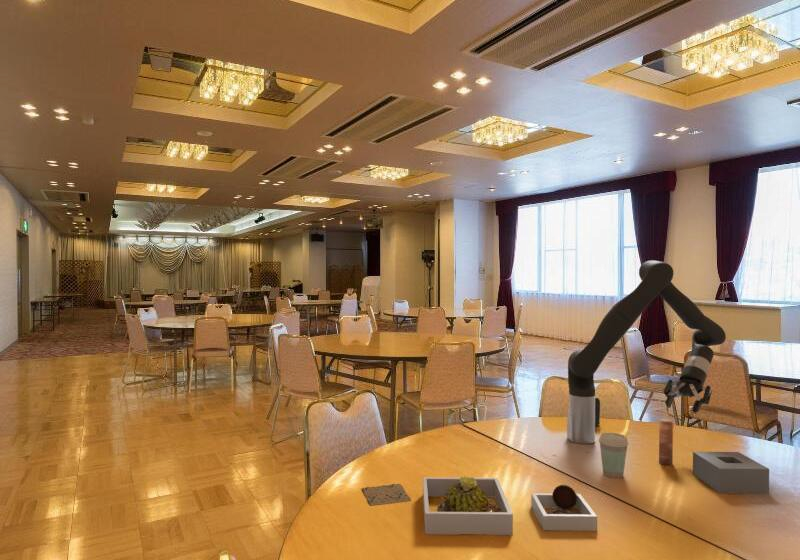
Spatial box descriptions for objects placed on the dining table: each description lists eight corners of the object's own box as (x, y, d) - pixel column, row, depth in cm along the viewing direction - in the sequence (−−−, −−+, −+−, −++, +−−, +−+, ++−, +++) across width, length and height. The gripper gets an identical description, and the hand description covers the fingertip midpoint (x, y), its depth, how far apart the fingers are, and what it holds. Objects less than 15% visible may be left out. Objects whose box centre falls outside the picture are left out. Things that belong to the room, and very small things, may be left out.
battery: (594, 422, 218) (594, 395, 218) (600, 425, 215) (600, 397, 215) (580, 424, 216) (580, 396, 216) (585, 426, 213) (585, 398, 213)
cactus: (480, 538, 125) (480, 497, 125) (424, 519, 134) (424, 481, 134) (511, 511, 139) (511, 474, 138) (458, 495, 148) (458, 461, 148)
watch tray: (543, 530, 128) (543, 516, 128) (531, 506, 141) (531, 493, 141) (597, 530, 128) (597, 516, 128) (579, 506, 141) (580, 493, 141)
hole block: (719, 492, 149) (719, 468, 149) (692, 473, 163) (692, 451, 163) (768, 493, 149) (769, 468, 149) (738, 474, 163) (738, 451, 163)
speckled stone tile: (369, 508, 141) (369, 505, 141) (360, 489, 152) (360, 486, 152) (412, 503, 144) (412, 499, 144) (400, 485, 156) (400, 482, 156)
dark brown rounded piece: (547, 521, 132) (547, 493, 132) (553, 509, 140) (553, 481, 139) (580, 528, 129) (580, 499, 129) (584, 515, 136) (585, 487, 136)
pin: (662, 465, 170) (662, 422, 170) (656, 461, 174) (657, 419, 174) (674, 465, 170) (675, 422, 170) (668, 461, 174) (669, 419, 174)
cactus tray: (425, 534, 126) (425, 513, 126) (422, 494, 148) (422, 477, 148) (512, 535, 126) (512, 514, 126) (497, 495, 148) (497, 477, 148)
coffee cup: (631, 481, 158) (631, 441, 158) (601, 478, 160) (601, 439, 159) (624, 470, 166) (625, 432, 166) (596, 468, 168) (596, 431, 168)
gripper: (671, 362, 190) (656, 398, 183) (714, 367, 179) (700, 406, 172) (677, 375, 193) (663, 411, 186) (720, 381, 182) (706, 420, 175)
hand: (680, 409), depth 179 cm, fingers open, 8 cm apart
